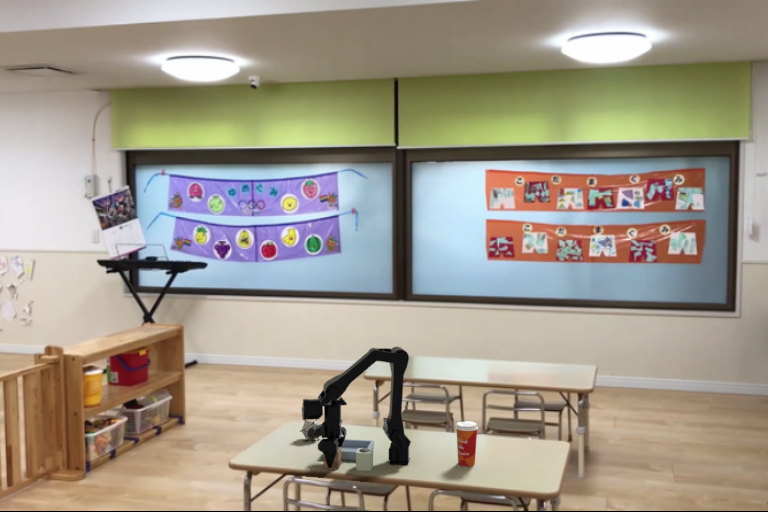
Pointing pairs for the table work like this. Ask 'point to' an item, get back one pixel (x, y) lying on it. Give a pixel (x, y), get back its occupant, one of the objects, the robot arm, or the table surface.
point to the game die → (308, 425)
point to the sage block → (364, 459)
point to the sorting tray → (353, 448)
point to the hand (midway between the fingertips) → (332, 463)
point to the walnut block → (336, 461)
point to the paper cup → (466, 443)
